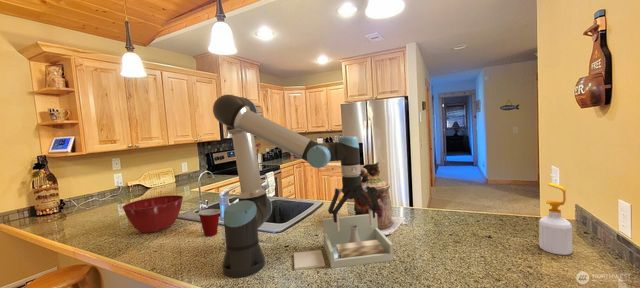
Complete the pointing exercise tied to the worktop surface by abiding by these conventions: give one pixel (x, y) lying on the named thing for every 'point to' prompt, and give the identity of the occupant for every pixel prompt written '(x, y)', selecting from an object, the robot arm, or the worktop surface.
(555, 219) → the soap bottle
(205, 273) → the worktop surface
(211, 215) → the plastic cup
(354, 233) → the flask
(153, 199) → the mixing bowl
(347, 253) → the light brown wooden block
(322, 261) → the mat
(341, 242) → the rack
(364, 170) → the cookie jar
